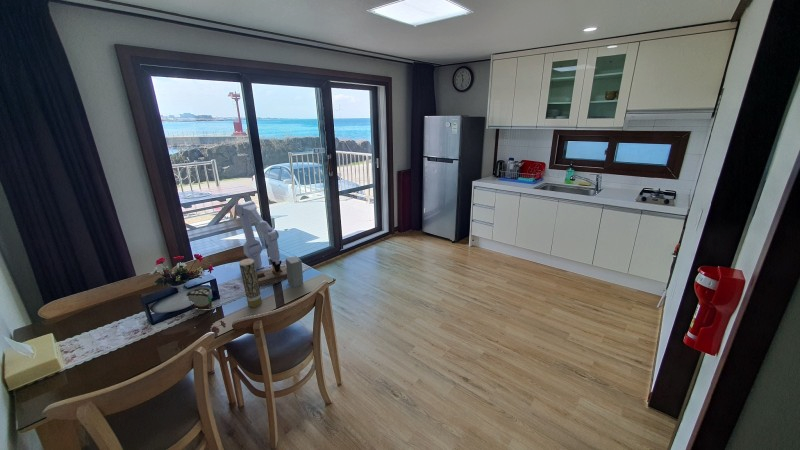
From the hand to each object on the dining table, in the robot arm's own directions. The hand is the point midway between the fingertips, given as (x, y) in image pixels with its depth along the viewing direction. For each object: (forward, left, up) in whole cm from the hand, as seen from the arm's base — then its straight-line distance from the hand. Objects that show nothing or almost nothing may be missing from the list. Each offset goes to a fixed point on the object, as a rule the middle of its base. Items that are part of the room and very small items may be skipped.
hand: (276, 270), depth 188 cm
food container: (+12, -39, -4) cm, 41 cm away
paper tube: (+24, -17, -4) cm, 30 cm away
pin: (0, 0, -2) cm, 2 cm away
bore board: (0, -5, -4) cm, 6 cm away
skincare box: (+15, +7, -4) cm, 17 cm away
